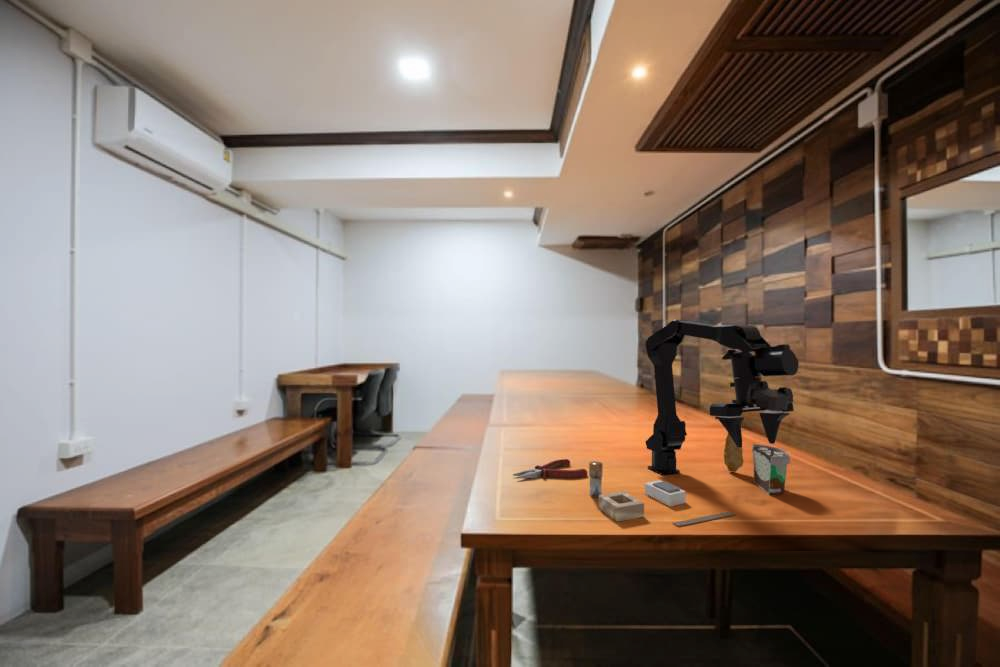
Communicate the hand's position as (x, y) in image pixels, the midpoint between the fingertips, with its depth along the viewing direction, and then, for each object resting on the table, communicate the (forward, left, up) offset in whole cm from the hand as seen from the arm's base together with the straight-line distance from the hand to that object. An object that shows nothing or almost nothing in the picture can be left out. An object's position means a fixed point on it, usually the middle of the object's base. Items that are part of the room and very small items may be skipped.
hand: (756, 445), depth 95 cm
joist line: (+1, -16, -14) cm, 21 cm away
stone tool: (-19, +16, -15) cm, 29 cm away
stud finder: (-11, -16, -15) cm, 25 cm away
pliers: (-37, -34, -15) cm, 53 cm away
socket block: (-8, -31, -14) cm, 35 cm away
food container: (-6, +15, -15) cm, 22 cm away
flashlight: (-18, -31, -14) cm, 39 cm away
